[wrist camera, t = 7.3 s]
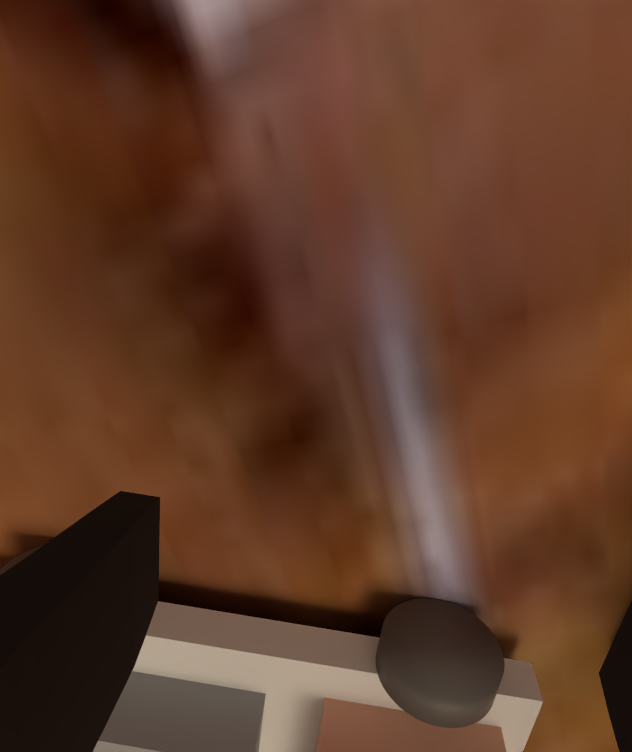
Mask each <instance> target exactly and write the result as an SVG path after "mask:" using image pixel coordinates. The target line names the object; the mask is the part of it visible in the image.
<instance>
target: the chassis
mask: <svg viewBox="0 0 632 752" xmlns="http://www.w3.org/2000/svg"><path fill="white" fill-rule="evenodd" d="M44 545H45V544H44ZM42 546H43V545H41V546H38V547H35V548H32V549H29V550H27V551H25V552H23V553H21V554H19V555H18V556H16V557H14V558H13V559H11V560H10V561H9V562H7V563H6V564H5V565H4V566H3V567H2V568H1V569H0V575H1V574H2V573H4V572H5V571H7V570H8V569H10V568H11V567H13V566H14V565H15V564H17V563H18V562H20V561H21V560H23V559H24V558H26V557H27V556H29V555H30V554H32V553H33V552H34V551H36V550H37V549H39V548H40V547H42ZM542 704H543V699H542V696H541V692H540V689H539V685H538V682H537V679H536V675H535V672H534V669H533V665H532V663H531V662H525V661H519V660H513V659H507V658H504V656H503V652H502V649H501V647H500V645H499V643H498V641H497V639H496V637H495V636H494V634H493V633H492V632H491V631H490V629H489V628H488V627H487V626H486V625H485V624H484V623H483V622H482V621H481V620H480V619H478V618H477V617H476V616H474V615H473V614H472V613H470V612H468V611H467V610H465V609H463V608H461V607H459V606H457V605H454V604H452V603H449V602H446V601H442V600H437V599H429V598H420V599H413V600H408V601H406V602H403V603H401V604H399V605H397V606H396V607H394V608H393V609H392V610H391V611H390V612H389V613H388V615H387V616H386V618H385V620H384V622H383V626H382V630H381V635H380V638H379V637H373V636H367V635H361V634H354V633H348V632H342V631H336V630H330V629H324V628H318V627H312V626H306V625H300V624H294V623H288V622H281V621H275V620H269V619H263V618H257V617H251V616H245V615H239V614H233V613H227V612H221V611H215V610H208V609H202V608H196V607H190V606H184V605H178V604H172V603H166V602H160V601H158V603H157V606H156V608H155V611H154V614H153V617H152V620H151V623H150V625H149V628H148V631H147V634H146V637H145V639H144V642H143V645H142V647H141V650H140V653H139V656H138V658H137V661H136V664H135V666H134V668H133V670H132V673H131V675H130V677H129V679H128V681H127V683H126V685H125V687H124V689H123V691H122V693H121V695H120V697H119V699H118V701H117V703H116V706H115V708H114V710H113V712H112V714H111V716H110V718H109V720H108V722H107V724H106V726H105V728H104V730H103V732H102V734H101V736H100V738H99V740H98V742H97V744H96V746H95V748H94V750H93V752H523V750H524V748H525V745H526V743H527V740H528V738H529V735H530V733H531V731H532V728H533V726H534V723H535V721H536V718H537V716H538V713H539V711H540V709H541V706H542Z"/></svg>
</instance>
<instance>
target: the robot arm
mask: <svg viewBox="0 0 632 752" xmlns="http://www.w3.org/2000/svg"><path fill="white" fill-rule="evenodd" d="M159 523H160V497H155V496H148V495H142V494H136V493H129V492H123V491H120V492H118V493H117V494H116V495H114V496H113V497H111V498H110V499H108V500H107V501H105V502H104V503H102V504H101V505H100V506H98V507H97V508H95V509H94V510H92V511H91V512H90V513H88V514H87V515H85V516H84V517H83V518H81V519H80V520H78V521H77V522H76V523H74V524H73V525H71V526H70V527H69V528H67V529H66V530H64V531H63V532H62V533H60V534H59V535H57V536H56V537H55V538H53V539H52V540H50V541H49V542H47V543H46V544H45V545H43V546H42V547H40V548H39V549H37V550H36V551H34V552H33V553H32V554H30V555H29V556H27V557H26V558H24V559H23V560H21V561H20V562H18V563H17V564H15V565H14V566H13V567H11V568H10V569H8V570H7V571H5V572H4V573H2V574H1V575H0V752H93V750H94V748H95V746H96V744H97V742H98V740H99V738H100V736H101V734H102V732H103V730H104V728H105V726H106V724H107V722H108V720H109V718H110V716H111V714H112V712H113V710H114V708H115V706H116V703H117V701H118V699H119V697H120V695H121V693H122V691H123V689H124V687H125V685H126V683H127V681H128V679H129V677H130V675H131V673H132V670H133V668H134V666H135V664H136V661H137V658H138V656H139V653H140V650H141V647H142V645H143V642H144V639H145V637H146V634H147V631H148V628H149V625H150V623H151V620H152V617H153V614H154V611H155V608H156V606H157V603H158V585H159ZM599 675H600V679H601V683H602V687H603V692H604V696H605V700H606V704H607V708H608V712H609V716H610V720H611V723H612V727H613V730H614V734H615V738H616V741H617V745H618V748H619V751H620V752H632V601H631V603H630V606H629V608H628V610H627V612H626V614H625V617H624V619H623V621H622V623H621V625H620V628H619V630H618V632H617V634H616V637H615V639H614V641H613V643H612V645H611V648H610V650H609V652H608V654H607V656H606V659H605V661H604V663H603V665H602V667H601V670H600V672H599Z"/></svg>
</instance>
